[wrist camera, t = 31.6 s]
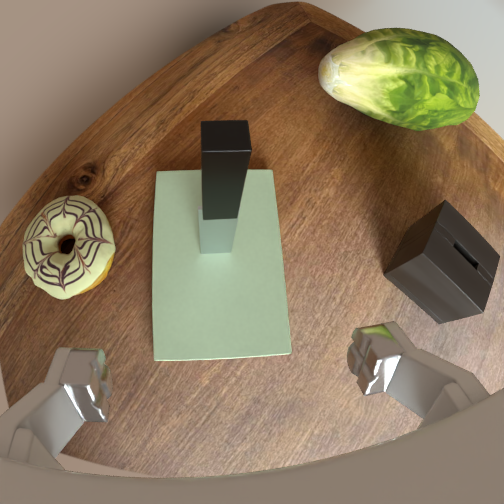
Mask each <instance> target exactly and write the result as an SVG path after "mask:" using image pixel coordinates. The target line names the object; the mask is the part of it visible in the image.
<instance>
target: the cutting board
mask: <svg viewBox="0 0 504 504" xmlns="http://www.w3.org/2000/svg"><path fill="white" fill-rule="evenodd" d="M198 206H202V191H201V170H181V171H157V173H156V187H155V203H154V222H153V252H152V320H153V349H154V360H155V361H176V360H210V359H230V358H246V357H260V356H272V355H283V354H291V353H292V351H291V340H290V328H289V318H288V307H287V297H286V286H285V276H284V267H283V257H282V248H281V239H280V230H279V221H278V212H277V204H276V195H275V187H274V179H273V171H272V170H251V169H248V170H247V175H246V179H245V184H244V189H243V194H242V198H241V203H240V206H241V208H240V213H239V217H238V222H237V227H236V231H235V236H234V241H233V246H232V250H231V252H230V253H214V254H201V250H200V235H199V219H198Z"/></svg>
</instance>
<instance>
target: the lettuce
mask: <svg viewBox="0 0 504 504" xmlns="http://www.w3.org/2000/svg"><path fill="white" fill-rule="evenodd" d="M318 77H319V82H320V85H321V87H322V88H323V89H324V90H325V91H326V92H327V93H328V94H329V95H330V96H332V97H333V98H335V99H336V100H337V101H340V102H342V103H345V104H347V105H349V106H352V107H353V108H355V109H356V110H358V111H359V112H361V113H363V114H365V115H367V116H369V117H372V118H374V119H377V120H380V121H384V122H387V123H390V124H393V125H396V126H401V127H406V128H409V129H412V130H416V131H422V130H428V129H433V128H439V127H443V126H447V125H458V124H460V123H462V122H464V121H466V120H467V119H468V118H469V117H470V116H471V115H472V113H473V112H474V111H475V109H476V106H477V103H478V99H479V96H480V95H479V83H478V78H477V76H476V73H475V71H474V69H473V67H472V65H471V63H470V62H469V61H468V60H467V59H466V58H465V57H464V55H463V54H462V53H461V52H460V51H459V50H457V49H456V48H455V47H454V46H453V45H451V44H450V43H449V42H448V41H446V40H444V39H442V38H441V37H439V36H437V35H434V34H430V33H426V32H421V31H416V30H412V29H405V28H384V29H378V30H372V31H369V32H366V33H363V34H361V35H360V36H358V37H356V38H355V39H353V40H351V41H349V42H346V43H344V44H342V45H339V46H338V47H336V48H335V49H333V50H332V51H331V52H329V53H328V54H327V55H326V56H325V57H324V58H323V59H322V60H321V62H320V65H319V69H318Z"/></svg>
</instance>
